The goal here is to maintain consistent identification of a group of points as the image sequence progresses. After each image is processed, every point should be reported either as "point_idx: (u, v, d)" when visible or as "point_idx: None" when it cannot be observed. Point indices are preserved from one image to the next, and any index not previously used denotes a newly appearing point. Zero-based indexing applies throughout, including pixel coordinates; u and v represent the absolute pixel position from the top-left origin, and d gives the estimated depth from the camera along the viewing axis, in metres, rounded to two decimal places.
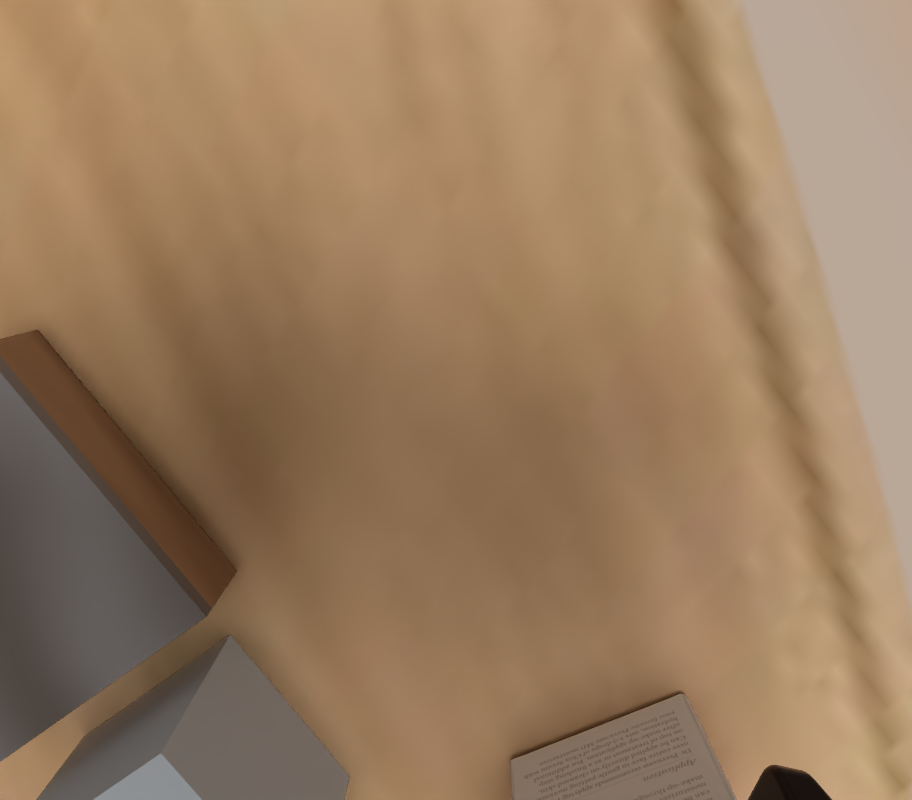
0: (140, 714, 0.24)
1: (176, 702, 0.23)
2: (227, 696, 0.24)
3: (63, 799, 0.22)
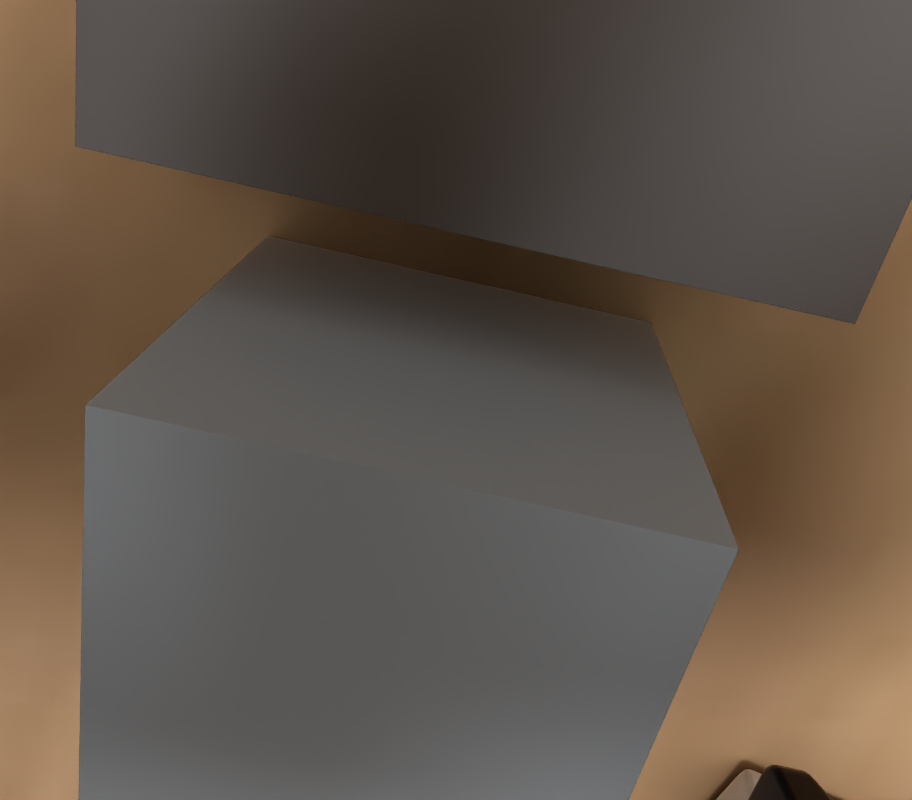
0: (470, 323, 0.11)
1: (616, 391, 0.10)
2: None
3: (337, 387, 0.09)
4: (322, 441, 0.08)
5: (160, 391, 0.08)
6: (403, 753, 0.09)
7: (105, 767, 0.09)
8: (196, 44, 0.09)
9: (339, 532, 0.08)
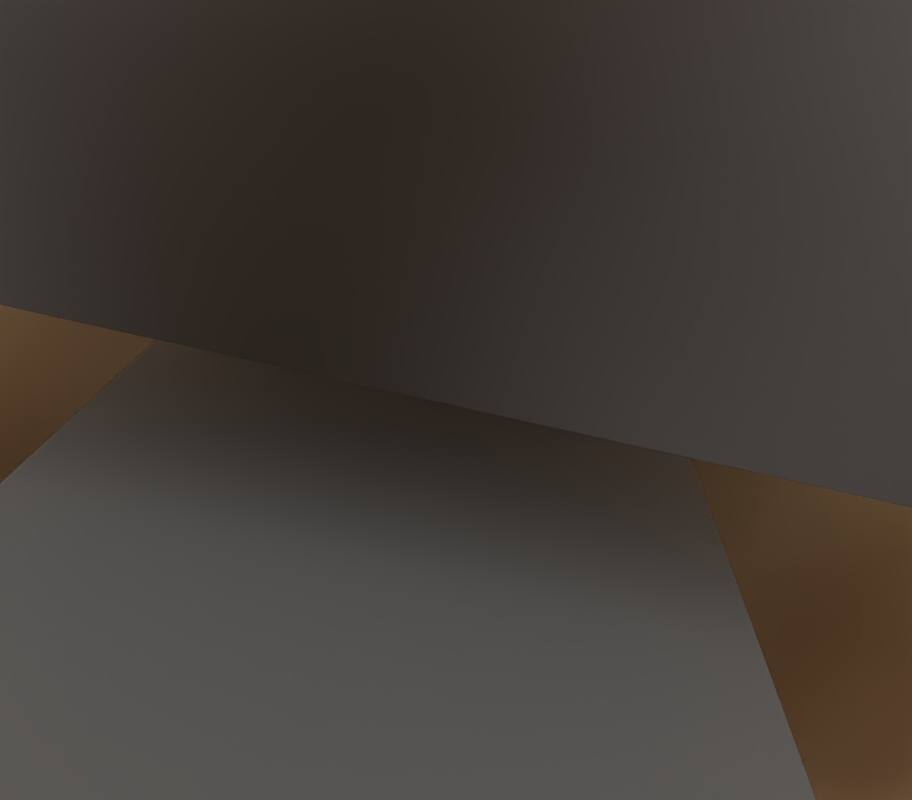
0: (433, 495, 0.08)
1: (657, 628, 0.07)
2: None
3: (183, 691, 0.05)
4: None
5: None
6: None
7: None
8: None
9: None
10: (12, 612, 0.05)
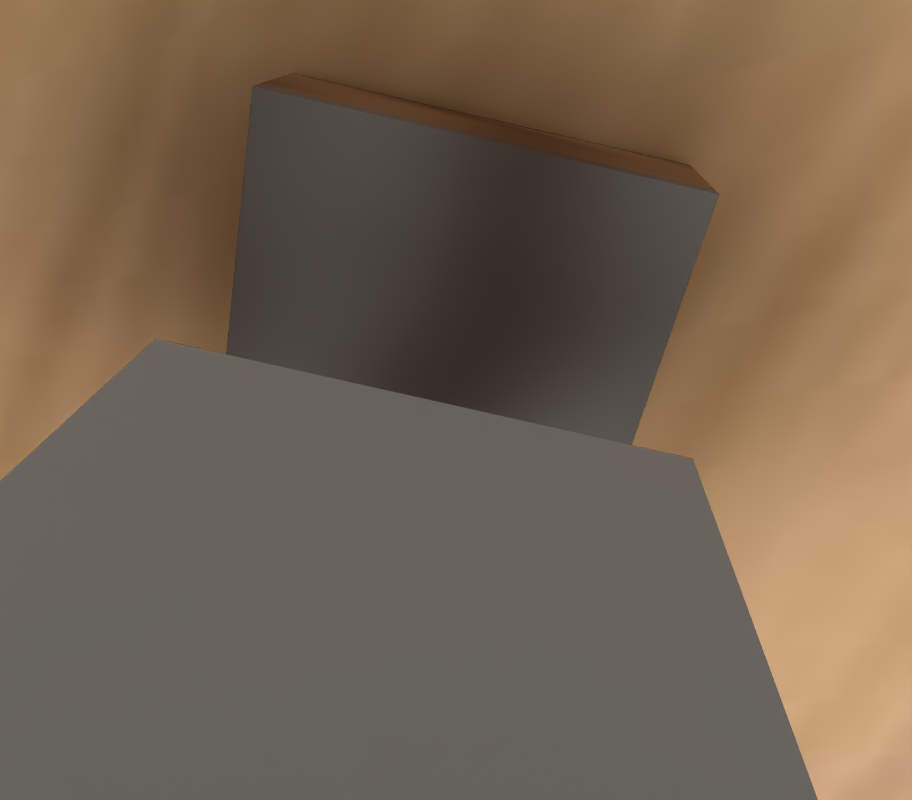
0: (433, 494, 0.07)
1: (658, 628, 0.06)
2: None
3: (182, 691, 0.05)
4: None
5: None
6: None
7: None
8: None
9: None
10: (10, 612, 0.05)
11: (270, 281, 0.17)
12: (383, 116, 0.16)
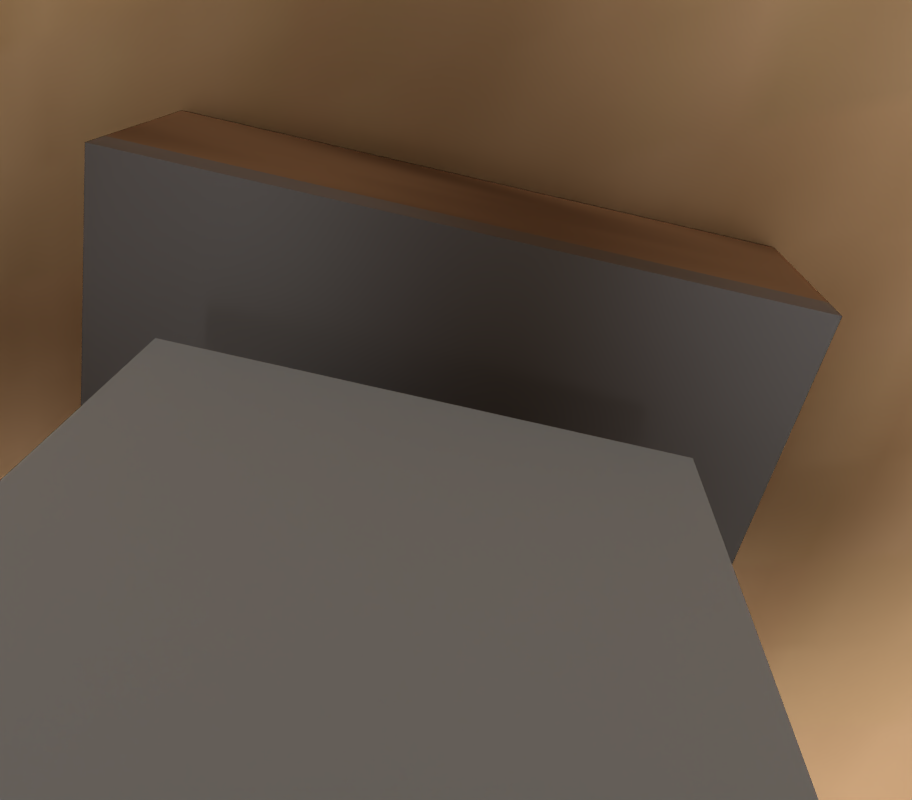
0: (433, 494, 0.07)
1: (658, 627, 0.06)
2: None
3: (182, 690, 0.05)
4: None
5: None
6: None
7: None
8: None
9: None
10: (10, 611, 0.05)
11: None
12: (299, 190, 0.10)
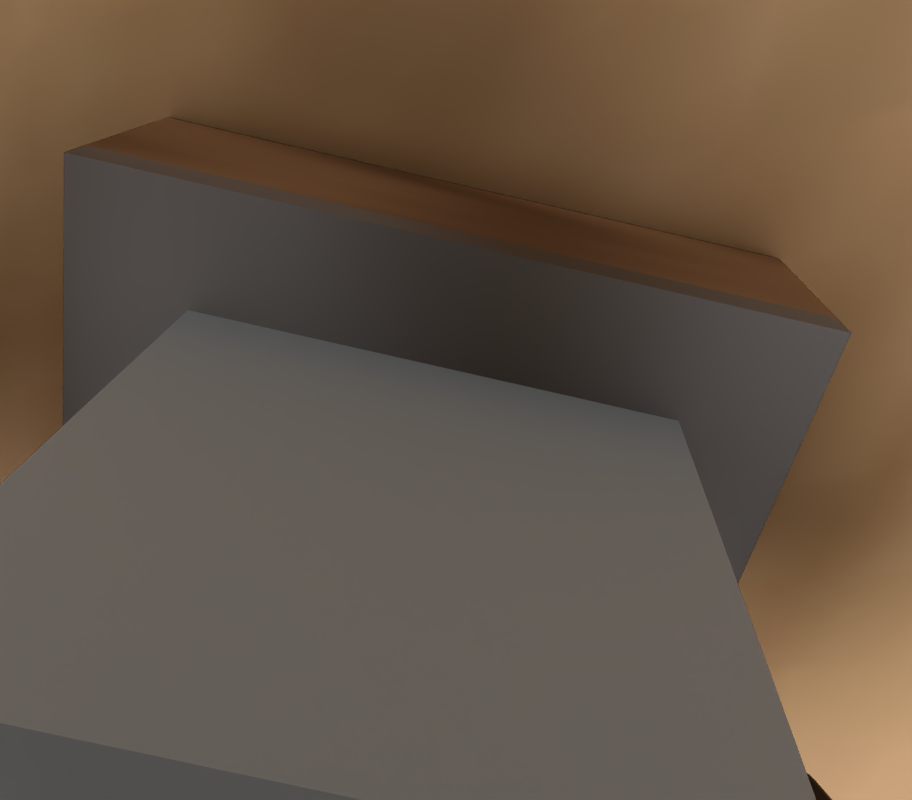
0: (443, 445, 0.08)
1: (642, 556, 0.07)
2: None
3: (233, 592, 0.06)
4: (185, 722, 0.05)
5: None
6: None
7: None
8: None
9: None
10: (83, 528, 0.06)
11: None
12: (287, 202, 0.09)
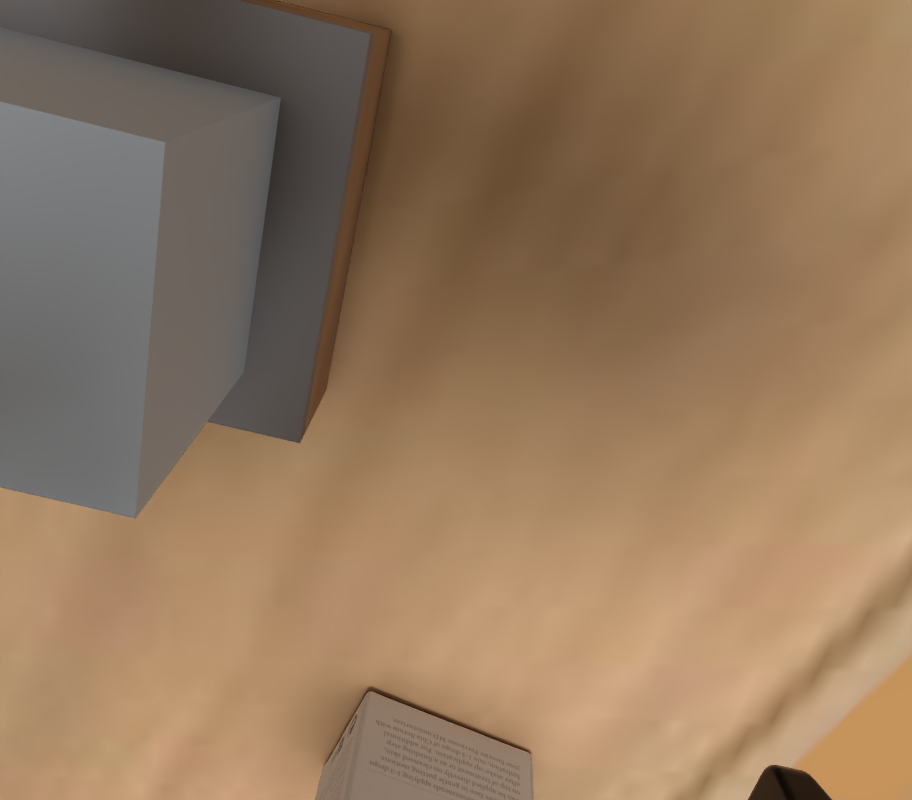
0: (99, 69, 0.15)
1: (182, 103, 0.14)
2: (239, 163, 0.15)
3: None
4: None
5: None
6: None
7: None
8: None
9: None
10: None
11: None
12: None
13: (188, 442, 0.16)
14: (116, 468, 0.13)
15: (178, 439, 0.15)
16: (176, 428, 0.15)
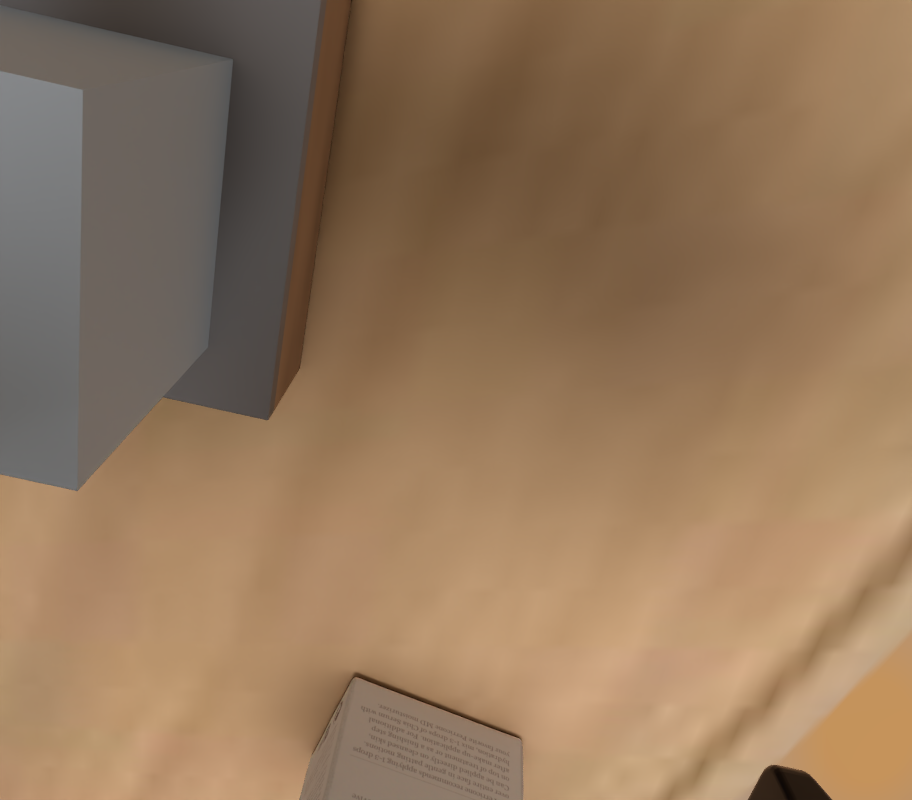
0: (38, 29, 0.14)
1: (119, 59, 0.13)
2: (184, 123, 0.14)
3: None
4: None
5: None
6: None
7: None
8: None
9: None
10: None
11: None
12: None
13: (142, 416, 0.15)
14: (54, 438, 0.13)
15: (127, 412, 0.14)
16: (123, 399, 0.14)
